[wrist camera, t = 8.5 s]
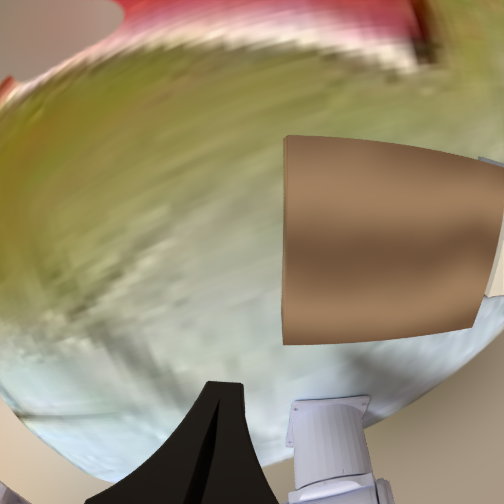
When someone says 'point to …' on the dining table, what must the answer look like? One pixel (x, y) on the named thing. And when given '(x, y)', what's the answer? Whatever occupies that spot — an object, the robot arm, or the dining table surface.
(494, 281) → the cream rectangular block
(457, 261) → the plate
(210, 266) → the dining table surface
